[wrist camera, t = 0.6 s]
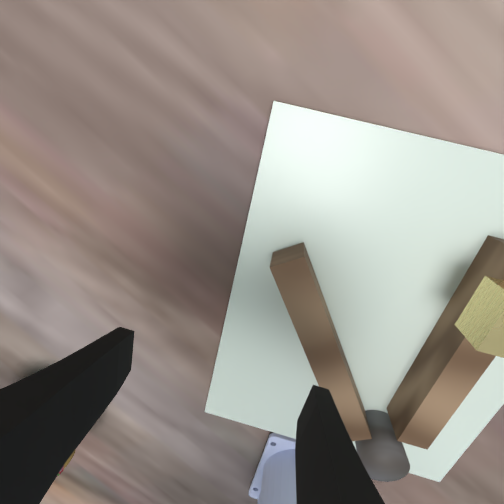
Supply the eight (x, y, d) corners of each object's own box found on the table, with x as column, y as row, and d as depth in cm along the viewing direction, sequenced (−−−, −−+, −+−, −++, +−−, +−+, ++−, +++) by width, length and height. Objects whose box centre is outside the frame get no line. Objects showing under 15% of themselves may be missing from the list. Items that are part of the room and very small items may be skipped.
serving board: (434, 468, 24) (439, 482, 23) (208, 401, 25) (204, 411, 24) (650, 191, 15) (674, 194, 14) (275, 103, 16) (273, 100, 15)
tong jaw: (364, 408, 21) (372, 438, 19) (337, 412, 22) (342, 442, 20) (303, 242, 17) (304, 256, 15) (272, 252, 18) (269, 267, 16)
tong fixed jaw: (393, 446, 22) (406, 489, 20) (345, 432, 23) (352, 473, 20) (524, 244, 15) (574, 267, 13) (455, 227, 16) (488, 245, 13)
